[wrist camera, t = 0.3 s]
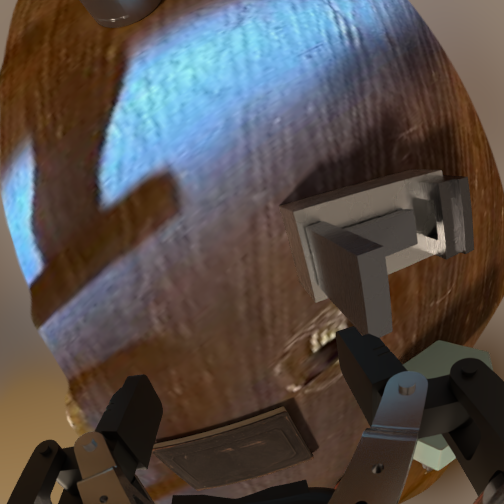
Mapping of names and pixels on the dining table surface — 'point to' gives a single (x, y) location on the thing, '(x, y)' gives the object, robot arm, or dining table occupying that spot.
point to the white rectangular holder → (380, 204)
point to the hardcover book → (236, 451)
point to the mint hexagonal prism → (431, 366)
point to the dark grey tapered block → (361, 266)
